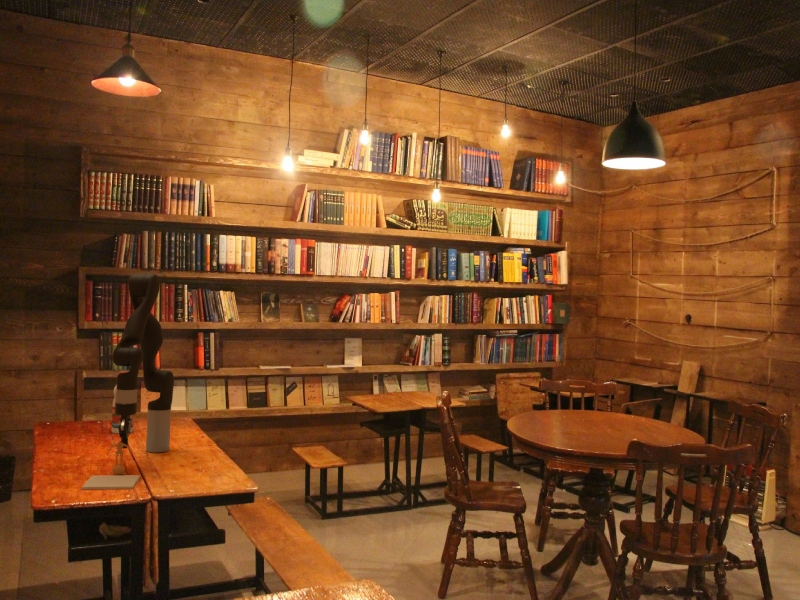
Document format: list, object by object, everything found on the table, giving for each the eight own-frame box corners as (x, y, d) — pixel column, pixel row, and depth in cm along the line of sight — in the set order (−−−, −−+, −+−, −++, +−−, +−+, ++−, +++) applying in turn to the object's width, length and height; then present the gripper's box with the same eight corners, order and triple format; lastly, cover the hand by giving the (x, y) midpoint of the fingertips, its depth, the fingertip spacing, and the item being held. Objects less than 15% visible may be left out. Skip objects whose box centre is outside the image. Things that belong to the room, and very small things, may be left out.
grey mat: (92, 477, 249) (92, 475, 249) (140, 477, 252) (140, 475, 252) (81, 489, 234) (81, 487, 234) (132, 488, 237) (132, 486, 237)
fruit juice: (136, 430, 335) (138, 371, 335) (128, 434, 325) (130, 373, 325) (116, 429, 335) (119, 370, 335) (107, 433, 326) (110, 372, 326)
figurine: (104, 477, 250) (106, 443, 250) (106, 473, 256) (108, 439, 256) (130, 476, 252) (131, 442, 252) (131, 472, 258) (132, 439, 258)
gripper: (118, 398, 269) (117, 444, 269) (111, 403, 256) (109, 451, 256) (139, 398, 271) (137, 444, 271) (133, 404, 258) (131, 451, 258)
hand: (124, 448), depth 264 cm, fingers closed
